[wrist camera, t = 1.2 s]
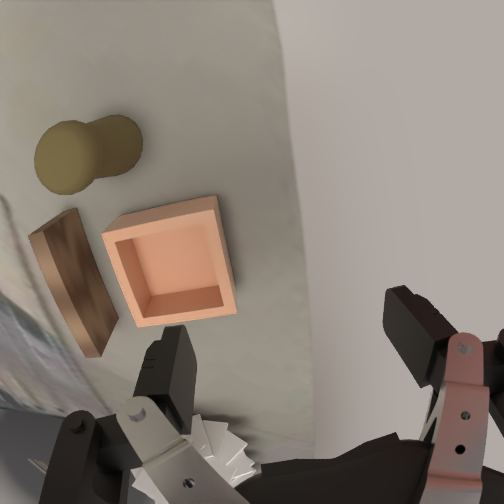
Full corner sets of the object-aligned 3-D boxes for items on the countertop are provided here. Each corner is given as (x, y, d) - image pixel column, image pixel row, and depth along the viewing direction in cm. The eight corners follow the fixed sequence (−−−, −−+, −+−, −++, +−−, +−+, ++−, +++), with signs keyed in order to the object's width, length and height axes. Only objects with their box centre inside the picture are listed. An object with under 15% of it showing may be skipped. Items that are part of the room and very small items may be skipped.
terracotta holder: (119, 215, 28) (101, 233, 23) (216, 194, 28) (213, 209, 23) (148, 300, 32) (137, 327, 28) (235, 285, 32) (237, 313, 28)
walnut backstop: (62, 212, 27) (27, 235, 21) (76, 207, 27) (42, 231, 21) (105, 319, 33) (86, 357, 27) (118, 318, 33) (100, 357, 27)
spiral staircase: (201, 452, 54) (157, 387, 42) (279, 474, 47) (263, 418, 36) (164, 516, 39) (94, 474, 28) (246, 549, 32) (206, 535, 21)
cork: (155, 144, 26) (113, 158, 16) (114, 188, 27) (60, 225, 17) (115, 101, 24) (56, 95, 14) (76, 147, 25) (10, 166, 15)
